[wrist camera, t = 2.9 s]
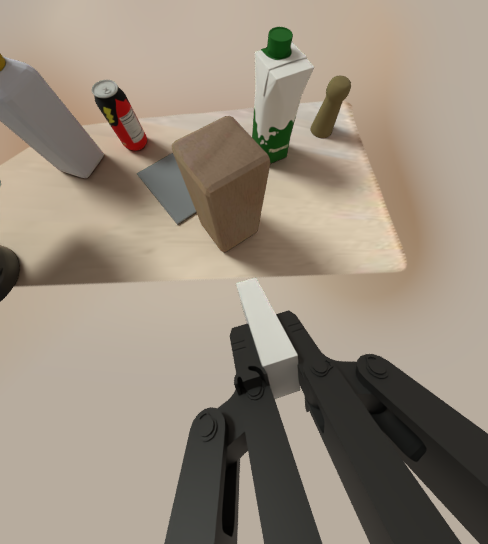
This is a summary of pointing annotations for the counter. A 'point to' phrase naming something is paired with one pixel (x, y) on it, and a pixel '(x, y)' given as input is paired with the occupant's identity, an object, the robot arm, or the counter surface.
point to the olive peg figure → (331, 106)
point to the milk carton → (278, 91)
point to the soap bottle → (44, 120)
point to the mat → (169, 188)
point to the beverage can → (119, 114)
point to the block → (224, 179)
